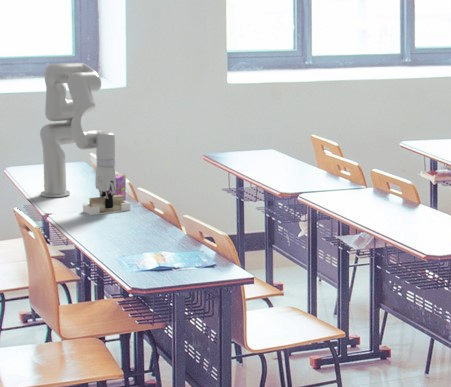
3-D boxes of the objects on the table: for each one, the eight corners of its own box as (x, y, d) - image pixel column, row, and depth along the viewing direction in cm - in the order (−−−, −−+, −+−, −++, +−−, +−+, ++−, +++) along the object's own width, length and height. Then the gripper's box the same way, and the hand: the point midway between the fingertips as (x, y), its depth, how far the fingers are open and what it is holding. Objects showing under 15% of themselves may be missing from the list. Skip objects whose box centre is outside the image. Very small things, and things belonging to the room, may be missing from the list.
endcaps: (83, 211, 413) (82, 204, 413) (122, 207, 423) (122, 199, 423) (91, 215, 407) (91, 208, 406) (131, 210, 416) (131, 203, 416)
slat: (89, 212, 413) (89, 198, 412) (120, 208, 420) (120, 194, 419) (92, 214, 411) (92, 199, 409) (123, 210, 418) (123, 195, 417)
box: (119, 205, 426) (118, 177, 424) (106, 204, 428) (105, 177, 425) (126, 200, 436) (125, 173, 434) (113, 200, 438) (113, 173, 435)
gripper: (88, 160, 416) (89, 204, 420) (106, 166, 403) (107, 211, 406) (104, 159, 420) (105, 202, 424) (123, 164, 407) (124, 209, 410)
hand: (106, 206), depth 415 cm, fingers open, 3 cm apart
